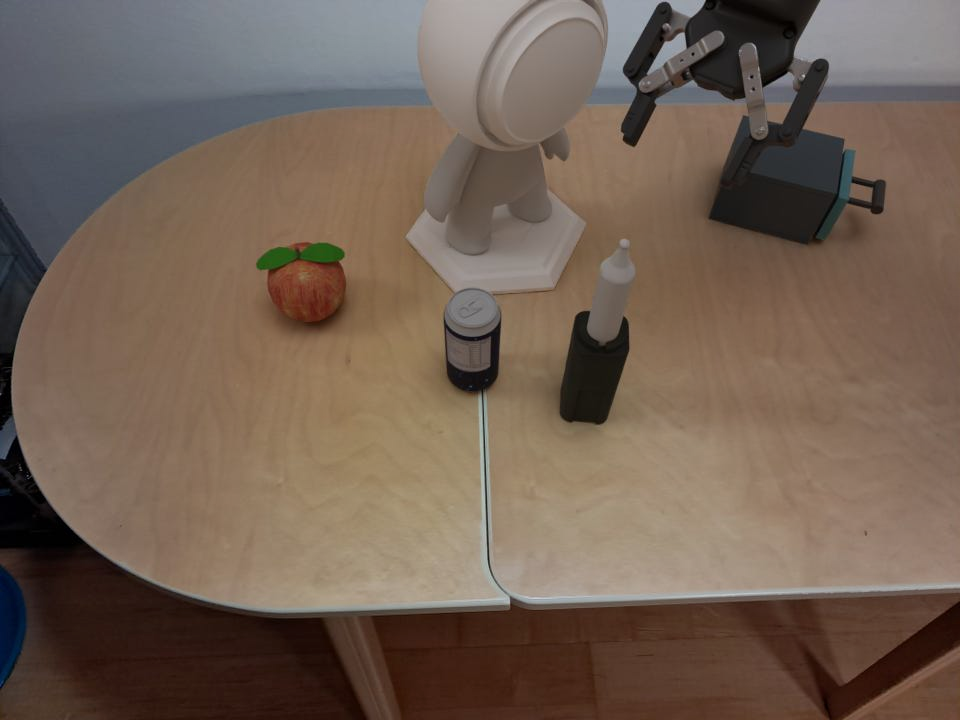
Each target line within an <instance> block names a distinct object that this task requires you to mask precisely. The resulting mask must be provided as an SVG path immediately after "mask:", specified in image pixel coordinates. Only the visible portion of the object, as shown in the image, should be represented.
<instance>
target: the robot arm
mask: <svg viewBox="0 0 960 720" xmlns="http://www.w3.org/2000/svg"><path fill="white" fill-rule="evenodd" d="M820 3H821V0H705V1H704V2H703V5H702V6H701V8H700V9H699V10H698V11H697V12H696V13H695V14H694V15H693V16H691V17H690V16H688V15H686V14H684V13H682V12H679V11H677V10H675V9H673V7H672V5H671V3H669V2H668V1H661V2H660V3H658V4H657V5H656V6H655V8H654V10H653V12H652V14H651V16H650V18H649V19H648V21H647V23H646V25H645V27H644V28H643V31H642V32H641V34H640V36H639V37H638V40H637V41H636V43H635V44H634V47H633V48H632V50H631V51H630V52H631V53H630V54H629V55H628V57H627V59H626V61H625V63H624V65H622V74H623V75H624V76H625V77H626V78H627V80H628V81H629V82H630V84H631V85H633V87H635V89H636V93H635V96H634V98H633V100H632V102H631V104H630V106H629V108H628V110H627V113H626V114H625V116H624V118H623V121H622V122H621V124H620V125H621V126H620V132H621V133H622V134H623V136H622V142H623V143H624V144H626V145H627V146H630V147H632V148H635V147H636V146H637V145H638V143H639V141H640V140H641V138H642V135H643V133H644V131H645V129H646V128H647V125H648V124H649V122H650V119H651V118H652V116H653V114H654V112H655V109H656V108H657V104H656V102H655V101H656V100H657V99H659V98H661V97H663V96H665V95H666V94H668V93H669V92H671V91H673V90H675V89H679V88H681V87H683V86H685V85H686V84H688V83H690V82H692V81H693V82H694V83H695V84H696V85H697V87H699V88H701V89H703V90H706V91H713V92H718V93H719V94H720V95H721V96H723V97H724V98H725V99H728V100H731V101H734V102H735V101H736V100H742V99H745V102H746V103H745V104H746V108H747V116H749V123H750V129H751V133H750V135H749V137H748V138H747V137H745V138H744V139H743V141H742V143H741V145H740V147H739V148H738V150H737V152H736V154H735V156H734V158H733V159H732V161H731V163H730V165H729V167H728V168H727V170H726V172H725V174H724V176H723V178H722V180H721V182H720V184H721V186H722V187H725V188H727V189H729V190H731V188H732V187H733V185H734V183H735V184H738V185H741V184H742V183H743V182H745V181H746V179H747V177H748V176H749V174H750V172H751V170H752V168H753V167H754V165H755V163H756V161H757V159H758V158H759V156H760V154H761V152H762V151H763V150H764V149H765V148H766V147H768V146H783V147H791V146H793V145H794V144H795V143H796V141H797V139H798V137H799V135H800V133H801V131H802V129H804V126H805V125H806V123H807V121H808V118H809V116H810V115H811V113H812V111H813V109H814V107H815V104H816V103H817V101H818V98H819V96H820V94H821V92H822V91H823V89H824V86H825V85H826V82H827V80H828V78H829V72H830V63H829V61H828V60H827V59H826V58H824V57H823V58H817V59H814V60H810V59H806V58H803V57H800V56H796V55H795V52H796V51H795V50H796V47H797V44H798V42H799V41H800V39H801V37H802V36H803V33H804V32H805V29H806V28H807V26H808V24H809V22H810V20H811V19H812V17H813V16H814V13H815V11H816V9H817V8H818V6H819V4H820ZM683 33H684V39H685V49H684V50H683V51H681V52H679V53H678V54H676V55H674V56H672V57H671V58H669V59H668V60H667V61H665V62H664V64H663V65H662V66H660V67H659V68H657V69H656V70H654V71H652V72H651V73H649V71H650V69H651V67H652V65H653V64H654V63H655V61H656V58H657V57H658V55H659V53H660V51H661V50H662V48H663V46H664V45H665V43H667V42H668V43H669V42H671V41H673V40H674V39H675V38H676V37H677V36H678V35H679V34H683ZM648 73H649V74H648ZM788 73H790V74H792V75H793V79H792V89H793V90H794V91H795V92H796V95H795V96H794V99H793V101H792V103H791V104H790V107H789V109H788V111H787V113H786V115H785V118H784V119H783V122H782V123H781V124H782V125H768V121H769V120H768V115H767V108H766V102H765V101H766V100H765V94H764V88H765V87H767V86H770V84H772V83H774V82H776V81H777V80H779V79H781V78H783V77H784V76H786V75H787V74H788Z"/></svg>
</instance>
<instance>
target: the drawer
mask: <svg viewBox="0 0 960 720" xmlns="http://www.w3.org/2000/svg"><path fill="white" fill-rule="evenodd" d="M855 157H856V150H854V149H849V148H845V149H844V150H843V155H842V162H841V168H840V175H839V182H838V189H837V194H836V196H835V198H834V199H833V201H832V203H831V205H830V207H829V208H828V210H827V212H826V214H825V215H824V217H823V219H822V221H821V222H820V224H819V226H818V228H817V229H816V231H815V239H818V240H822V241H826V240H827V238H828V236H829V234H830V233H831V231H832V230H833V227H835V224H836V222H837V221H838V219H839V218H840V216H841V214H842V212H843V210H844V209H845V208H846V205H851V206H855V207H860V208H862V209H863V208H864V209H867V210H870V213H871V214H872V215H881V214H882V213H883V212H884V210H885V199H886V188H887V182H886V181H885V180H884V179H880V178H879V179H876V180H869V179H865V178H861V177H857V176H854V175H853V173H854V165H855ZM852 184H854V185H858V186H863V187H866V188H870V189H871V190H872V192H871V199H870V201H867V200H864V199H859V198H855V197H852V196H850V195H851V186H852Z"/></svg>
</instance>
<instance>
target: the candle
mask: <svg viewBox="0 0 960 720" xmlns="http://www.w3.org/2000/svg"><path fill="white" fill-rule="evenodd" d="M630 247H631V242H630V241H629V240H628V239H627V238H623V239H621V240H620V241H619V243H618V247H617V249H616V250H615V252H614V253H613V254H612V255H611V256H609V257H607V258H605V259H604V260H603V261H602V262H601V265H600V267H599V272H598V276H597V280H596V283H595V289H594V294H593V297H592V302H591V307H590V310H582V311H580V312H578V313H577V314H576V315H575V317H574V320H573V325H572V331H571V335H570V340H569V344H568V351H567V357H566V361H565V366H564V371H563V376H562V380H561V386H560V396H559V397H560V399H559V415H560V418H562V420H564V421H565V422H568V423H573V422H578V423H579V422H582V423H591V424H594V425H597V426H598V425H602V424H605V423H606V421H607V420H608V418H609V414H610V412H611V408H612V406H613V402H614V399H615V396H616V393H617V389H618V386H619V384H620V380H621V377H622V375H623V372H624V368H625V366H626V362H627V359H628V356H629V353H630V349H631V348H630V323H629V320H628V318H627V317H626V316H625V312H626V309H627V305H628V302H629V299H630V295H631V291H632V288H633V285H634V281H635V277H636V271H637V270H636V266H635V265H634V263H633V261H632V260H631V258H630V252H629V248H630Z"/></svg>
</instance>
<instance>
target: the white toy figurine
mask: <svg viewBox="0 0 960 720" xmlns="http://www.w3.org/2000/svg"><path fill="white" fill-rule="evenodd" d="M420 17H421V18H420V22H419V25H418V32H417V44H416V45H417V49H416V50H417V61H418V68H419V74H420V77H421V81H422V85H423V86H424V90H425V92H426V93H427V96H428V98H429V101H430V102H431V104H432V106H433V107H434V108H435V110H436V111H437V113H438V114H439V116H440V117H441V118H442V119H443V121H444V122H445V123H446V124H448V126H449V127H451V128H452V129H453V130H454V131H455V132H456V133H458V134H456V136H455V137H454V138H452V141H450V143H449V144H448V146H447V147H446V148H445V150H444V151H443V153H442V155H441V156H440V158H439V159H438V161H437V162H436V164H435V166H434V168H433V170H432V171H431V174H430V175H429V178H428V180H427V183H426V186H425V190H424V195H423V196H424V197H423V203H424V210H423V211H422V212H421V214H419V216H418V218H417V220H416V221H415V222H414V224H413V225H412V226H411V228H410V229H409V231H408V232H407V234H406V236H405V239H406V241H407V242H408V243H409V244H410V245H411V246H412V248H413V249H415V251H416V252H417V253H418V254H419V255H420V256H421V258H422V259H423V260H424V261H425V262H426V263H427V264H428V265H429V266H430V268H431V269H432V270H433V271H434V272H435V273H436V274H437V275H438V276H439V278H440V279H441V280H442V281H443V282H444V283H445V284H446V285H447V286H448V288H449V289H450V290H451V291H452V292H453V294H454V293H456V292H457V291H459V290H461V289H465V288H480V289H483V290H486V291H488V292H489V293H491V294H492V295H493V296H494V295H505V294H519V293H520V294H521V293H534V292H545V291H546V292H547V291H554V290H555V289H556V286H557V284H558V283H559V281H560V278H561V276H562V275H563V273H564V270H566V267H567V265H568V263H569V261H570V259H571V257H572V255H573V253H574V251H575V249H576V247H577V245H578V243H579V241H580V239H581V237H582V236H583V233H584V232H585V229H586V227H587V222H586V221H584V220H583V219H582V218H581V217H580V216H578V214H576V212H574V211H573V210H572V209H571V208H570V207H569V206H568V205H567V204H565V203H564V202H563V201H562V200H561V199H560V198H558V196H557V195H556V194H554V193H553V192H552V191H551V190H550V188H548V187H547V178H546V174H545V167H544V163H543V158H542V154H541V150H540V147H541V148H542V150H543V153H544V156H545V158H546V160H548V161H549V160H550V161H551V160H553V159H554V156H555V157H557V158H558V159H559V160H560V161H562V162H566V161H567V160H568V158H569V157H570V149H571V145H570V144H571V143H570V139H569V136H568V133H567V131H566V129H565V127H566V126H567V125H568V124H570V122H571V121H572V120H574V118H575V117H576V116H577V115H578V114H579V113H580V111H581V110H582V109H583V108H584V106H585V105H586V103H587V102H588V100H589V99H590V97H591V95H592V93H593V91H594V89H595V87H596V85H597V83H598V80H599V77H600V75H601V73H602V67H603V63H604V59H605V56H606V53H607V47H608V39H609V22H608V16H607V12H606V8H605V5H604V2H603V0H427V1H426V3H425V5H424V8H423V10H422V13H421V16H420Z"/></svg>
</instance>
